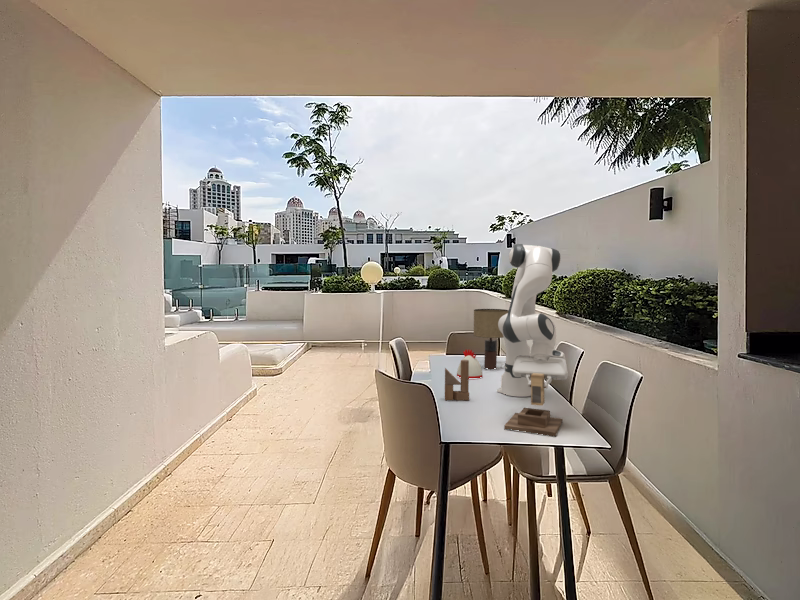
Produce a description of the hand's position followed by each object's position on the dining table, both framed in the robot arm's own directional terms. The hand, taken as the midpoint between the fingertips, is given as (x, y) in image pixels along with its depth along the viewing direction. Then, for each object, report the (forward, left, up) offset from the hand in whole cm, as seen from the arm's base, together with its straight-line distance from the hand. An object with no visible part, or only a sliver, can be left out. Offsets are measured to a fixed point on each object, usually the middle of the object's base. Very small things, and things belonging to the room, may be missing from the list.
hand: (537, 386), depth 181 cm
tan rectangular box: (0, 0, -6) cm, 6 cm away
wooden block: (-29, -36, -15) cm, 48 cm away
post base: (-1, -1, -15) cm, 15 cm away
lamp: (-104, -31, -15) cm, 109 cm away
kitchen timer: (-79, -39, -15) cm, 89 cm away
